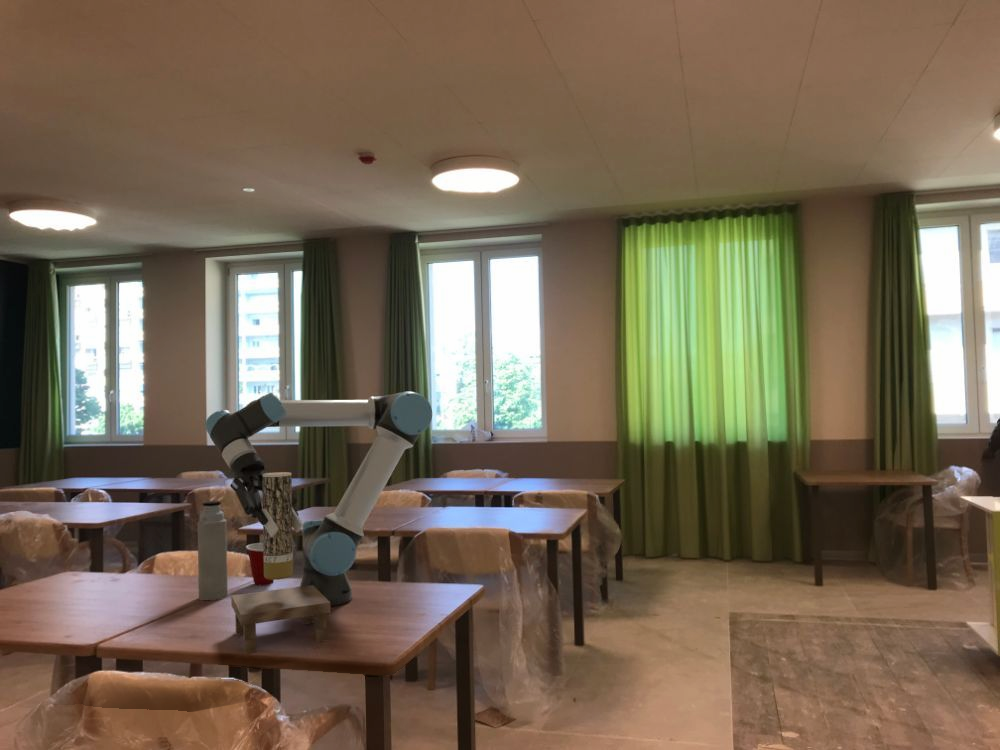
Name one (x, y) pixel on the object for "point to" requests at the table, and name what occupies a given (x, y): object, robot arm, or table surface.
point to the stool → (279, 611)
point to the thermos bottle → (212, 552)
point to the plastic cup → (257, 563)
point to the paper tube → (278, 525)
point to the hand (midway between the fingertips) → (287, 530)
